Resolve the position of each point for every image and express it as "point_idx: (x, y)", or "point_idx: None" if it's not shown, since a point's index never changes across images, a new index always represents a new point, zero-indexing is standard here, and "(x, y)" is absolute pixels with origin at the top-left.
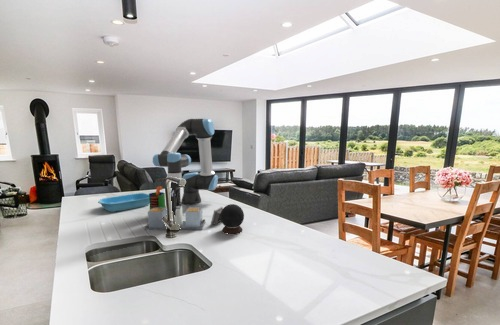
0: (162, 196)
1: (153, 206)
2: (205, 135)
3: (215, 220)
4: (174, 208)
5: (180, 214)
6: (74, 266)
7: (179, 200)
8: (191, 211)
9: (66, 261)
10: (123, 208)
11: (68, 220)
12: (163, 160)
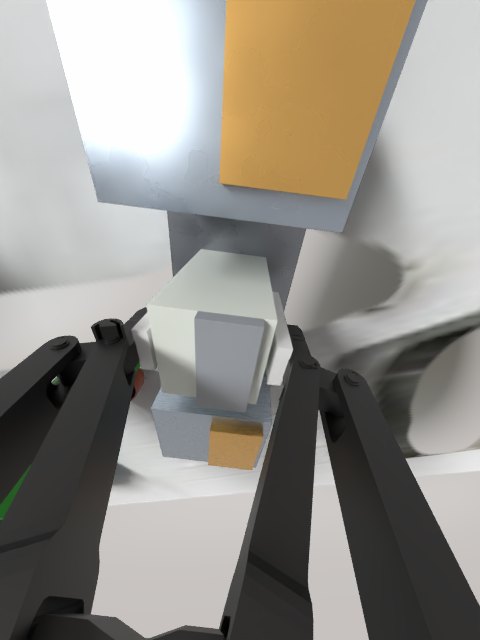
0: (10, 495)
1: None
2: None
3: None
4: (369, 391)
5: (251, 284)
6: (462, 461)
7: (73, 392)
8: (380, 95)
9: (419, 472)
10: None
11: (176, 496)
12: None
